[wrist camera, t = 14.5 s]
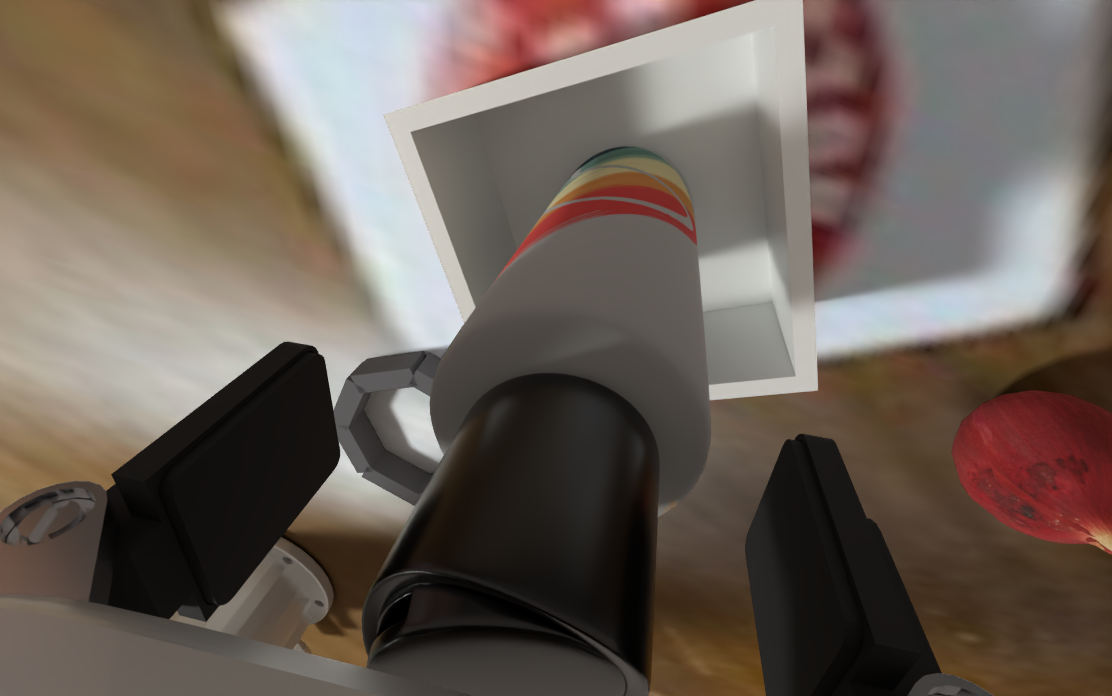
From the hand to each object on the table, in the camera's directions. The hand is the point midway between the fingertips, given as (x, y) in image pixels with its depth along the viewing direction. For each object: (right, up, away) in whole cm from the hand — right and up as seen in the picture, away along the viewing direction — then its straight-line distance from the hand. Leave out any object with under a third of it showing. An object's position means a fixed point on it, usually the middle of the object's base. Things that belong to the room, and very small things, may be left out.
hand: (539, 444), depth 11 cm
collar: (-8, -3, +22) cm, 24 cm away
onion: (+21, -1, +14) cm, 26 cm away
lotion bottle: (+3, +8, +12) cm, 15 cm away
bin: (+4, +8, +13) cm, 16 cm away
